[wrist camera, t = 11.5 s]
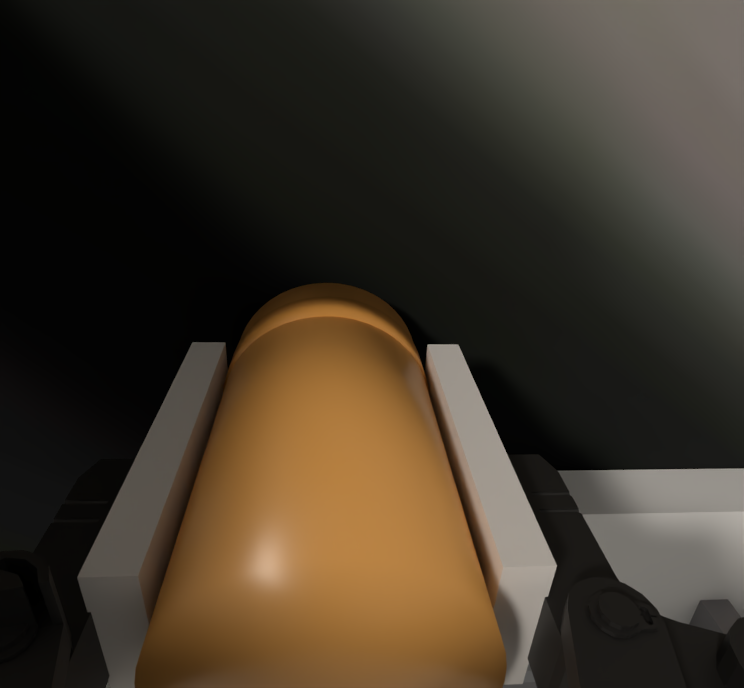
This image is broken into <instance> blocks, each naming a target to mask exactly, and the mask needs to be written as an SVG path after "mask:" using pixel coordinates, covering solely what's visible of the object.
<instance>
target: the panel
mask: <svg viewBox="0 0 744 688" xmlns="http://www.w3.org/2000/svg"><path fill="white" fill-rule="evenodd" d="M558 472H559V474H560V476H561V477H562V479H563V481H564V483H565V485H566V486H567V488H568V490H569V495H570V496H572V497H573V499H574V501H575V503H576V504H577V506H578V508H579V513H581V514H582V515H583V517H584V519H585V521H586V523H587V524H588V526H589V528H590V530H591V532H592V533H593V535H594V537H595V539H596V541H597V542H598V544H599V546H600V548H601V550H602V552H603V553H604V555H605V557H606V559H607V561H608V562H609V564H610V566H611V568H612V570H613V571H614V573H615V575H616V577H617V578H618V580H619V581H620V582H622V583H625V584H627V585H628V586H630V587H632V588H633V589H635V590H637V591H638V592H640V593H641V594H643V595H644V596H645V597H646V598H647V599H648V600H649V601H650V602H651V603H652V604H653V605H654V606H655V607H656V608H657V610H658V612H659V614H660V615H662V616H664V617H666V618H669V619H672V620H675V621H678V622H681V623H685V624H689V625H693V626H697V627H700V628H704V629H708V630H712V631H716V632H720V633H723V634H727V633H728V631H729V629H730V628H731V627H732V625H733V624H734V623H735V621H736V620H737V619H738V618H742V617H744V468H743V469H659V470H574V471H558ZM502 688H537V686H536V683H535V680H534V677H533V674H532V670H531V667H530V664H528V667H527V671H526V674H525V677H524V681H523V684H510V685H503V687H502Z"/></svg>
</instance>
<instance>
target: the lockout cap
mask: <svg viewBox="0 0 744 688" xmlns="http://www.w3.org/2000/svg"><path fill="white" fill-rule="evenodd" d="M506 669H507V662H506V651H505V648H504V644H503V641H502V637H501V634H500V631H499V627H498V624H497V621H496V617H495V614H494V611H493V607H492V604H491V601H490V597H489V594H488V590H487V587H486V584H485V580H484V577H483V574H482V570H481V567H480V564H479V560H478V557H477V554H476V550H475V547H474V544H473V540H472V537H471V534H470V530H469V527H468V524H467V520H466V517H465V514H464V510H463V507H462V504H461V500H460V497H459V494H458V490H457V487H456V484H455V480H454V477H453V473H452V470H451V467H450V463H449V460H448V457H447V453H446V450H445V447H444V443H443V440H442V437H441V433H440V430H439V427H438V423H437V420H436V417H435V413H434V410H433V407H432V403H431V400H430V397H429V387H428V383H427V379H426V376H425V372H424V369H423V366H422V363H421V359H420V356H419V353H418V351H417V349H416V347H415V344H414V343H413V340H412V336H411V334H410V332H409V330H408V328H407V326H406V324H405V323H404V321H403V320H402V318H401V317H400V316H399V315H398V314H397V312H396V311H395V310H394V309H393V308H392V307H391V306H389V305H388V304H387V303H386V302H385V301H383V300H382V299H380V298H379V297H377V296H376V295H373V294H371V293H369V292H367V291H365V290H363V289H360V288H357V287H354V286H349V285H344V284H337V283H315V284H309V285H303V286H300V287H296V288H293V289H290V290H288V291H286V292H283V293H281V294H279V295H278V296H276V297H274V298H273V299H271V300H270V301H268V302H267V303H266V304H265V305H263V306H262V307H261V308H260V309H259V310H258V311H257V312H256V313H255V314H254V316H253V317H252V318H251V320H250V321H249V323H248V324H247V325H246V328H245V330H244V332H243V334H242V336H241V339H240V342H239V343H238V346H237V348H236V350H235V352H234V354H233V357H232V360H231V363H230V366H229V369H228V372H227V376H226V379H225V382H224V385H223V396H222V399H221V402H220V405H219V408H218V411H217V414H216V417H215V421H214V424H213V427H212V430H211V433H210V436H209V439H208V442H207V446H206V449H205V452H204V455H203V458H202V461H201V464H200V467H199V471H198V474H197V477H196V480H195V483H194V486H193V489H192V493H191V496H190V499H189V502H188V505H187V508H186V511H185V514H184V518H183V521H182V524H181V527H180V530H179V533H178V536H177V539H176V543H175V546H174V549H173V552H172V555H171V558H170V561H169V565H168V568H167V571H166V574H165V577H164V580H163V583H162V586H161V590H160V593H159V596H158V599H157V602H156V605H155V608H154V611H153V615H152V618H151V621H150V624H149V627H148V630H147V633H146V637H145V640H144V643H143V646H142V649H141V652H140V655H139V659H138V662H137V665H136V668H135V681H134V685H135V688H502V687H503V685H504V682H505V676H506Z"/></svg>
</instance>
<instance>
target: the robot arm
mask: <svg viewBox="0 0 744 688" xmlns="http://www.w3.org/2000/svg"><path fill="white" fill-rule="evenodd" d="M227 372H228V366H227V355H226V344H225V342H192V344H191V346H190V348H189V351H188V353H187V355H186V357H185V359H184V361H183V363H182V365H181V367H180V369H179V371H178V373H177V375H176V377H175V379H174V381H173V383H172V385H171V387H170V389H169V391H168V393H167V395H166V397H165V399H164V401H163V403H162V406H161V408H160V410H159V412H158V414H157V416H156V418H155V420H154V422H153V424H152V426H151V428H150V430H149V432H148V434H147V436H146V438H145V440H144V442H143V444H142V446H141V448H140V450H139V452H138V454H137V456H136V459H101V460H100V461H98V462H97V463H96V464H95V465H94V466H92V467H91V468H90V469H89V470H88V471H86V472H85V473H84V474H83V475H82V476H80V477H79V478H78V480H77V481H76V483H75V485H74V486H73V488H72V490H71V491H70V493H69V494H68V496H67V498H66V499H65V504H64V505H62V506H61V508H60V509H59V511H58V513H57V514H56V516H55V518H54V523H51V524H50V526H49V528H48V529H47V531H46V533H45V534H44V536H43V537H42V539H41V541H40V542H39V544H38V546H37V547H36V549H35V551H34V552H33V553H31V552H28V551H25V550H17V551H2V552H0V688H105V687H106V685H107V682H108V683H109V686H110V688H135V685H134V681H135V668H136V665H137V662H138V659H139V655H140V652H141V649H142V646H143V643H144V640H145V637H146V633H147V630H148V627H149V624H150V621H151V618H152V615H153V611H154V608H155V605H156V602H157V599H158V596H159V593H160V590H161V586H162V583H163V580H164V577H165V574H166V571H167V568H168V565H169V561H170V558H171V555H172V552H173V549H174V546H175V543H176V539H177V536H178V533H179V530H180V527H181V524H182V521H183V518H184V514H185V511H186V508H187V505H188V502H189V499H190V496H191V493H192V489H193V486H194V483H195V480H196V477H197V474H198V471H199V467H200V464H201V461H202V458H203V455H204V452H205V449H206V446H207V442H208V439H209V436H210V433H211V430H212V427H213V424H214V421H215V417H216V414H217V411H218V408H219V405H220V402H221V399H222V396H223V385H224V382H225V379H226V376H227ZM425 376H426V379H427V383H428V387H429V397H430V400H431V403H432V407H433V410H434V413H435V417H436V420H437V423H438V427H439V430H440V433H441V437H442V440H443V443H444V447H445V450H446V453H447V457H448V460H449V463H450V467H451V470H452V473H453V477H454V480H455V484H456V487H457V490H458V494H459V497H460V500H461V504H462V507H463V510H464V514H465V517H466V520H467V524H468V527H469V530H470V534H471V537H472V540H473V544H474V547H475V550H476V554H477V557H478V560H479V564H480V567H481V570H482V574H483V577H484V580H485V584H486V587H487V590H488V594H489V597H490V601H491V604H492V607H493V611H494V614H495V617H496V621H497V624H498V627H499V631H500V634H501V637H502V641H503V644H504V648H505V651H506V662H507V669H506V676H505V682H504V685H510V684H523V681H524V677H525V674H526V671H527V667H528V664H530V667H531V670H532V674H533V677H534V680H535V683H536V686H537V688H744V617H742V618H738V619H737V620H736V621H735V623H734V624H733V625H732V627H731V628H730V629H729V631H728V633H727V634H723V633H720V632H716V631H712V630H708V629H704V628H700V627H697V626H693V625H689V624H685V623H681V622H678V621H675V620H672V619H669V618H666V617H664V616H662V615H660V614H659V612H658V610H657V608H656V607H655V606H654V605H653V604H652V603H651V602H650V601H649V600H648V599H647V598H646V597H645V596H644V595H643V594H641V593H640V592H638V591H637V590H635V589H633V588H632V587H630V586H628V585H627V584H625V583H622V582H620V581H619V580H618V578H617V577H616V575H615V573H614V571H613V570H612V568H611V566H610V564H609V562H608V561H607V559H606V557H605V555H604V553H603V552H602V550H601V548H600V546H599V544H598V542H597V541H596V539H595V537H594V535H593V533H592V532H591V530H590V528H589V526H588V524H587V523H586V521H585V519H584V517H583V515H582V514H581V513H579V508H578V506H577V504H576V503H575V501H574V499H573V497H572V496H570V495H569V490H568V488H567V486H566V485H565V483H564V481H563V479H562V477H561V476H560V474H559V472H558V471H557V470H556V469H555V468H554V467H553V466H551V465H550V464H549V463H548V462H547V461H546V460H545V459H543V458H542V457H541V456H540V455H539V454H527V455H507V453H506V451H505V448H504V446H503V444H502V442H501V439H500V437H499V435H498V433H497V430H496V428H495V426H494V424H493V421H492V419H491V417H490V415H489V413H488V410H487V408H486V406H485V404H484V401H483V399H482V397H481V395H480V392H479V390H478V388H477V386H476V383H475V381H474V379H473V377H472V374H471V372H470V370H469V368H468V366H467V363H466V361H465V359H464V357H463V354H462V352H461V350H460V348H459V345H444V344H428V345H427V355H426V364H425Z"/></svg>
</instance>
